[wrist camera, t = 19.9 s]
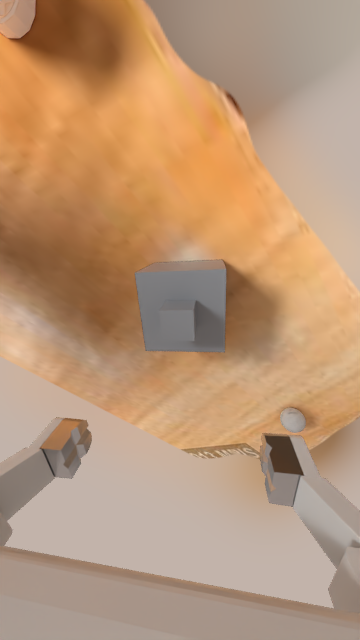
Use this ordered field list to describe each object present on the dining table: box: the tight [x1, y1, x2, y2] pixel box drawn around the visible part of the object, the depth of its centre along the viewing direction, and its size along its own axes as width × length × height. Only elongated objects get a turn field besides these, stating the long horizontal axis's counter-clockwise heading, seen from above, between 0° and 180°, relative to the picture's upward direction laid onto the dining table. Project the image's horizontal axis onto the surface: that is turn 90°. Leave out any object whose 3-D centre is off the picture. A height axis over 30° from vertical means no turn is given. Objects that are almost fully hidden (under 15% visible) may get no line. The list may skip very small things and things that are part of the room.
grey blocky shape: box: [135, 260, 226, 352], centre depth 27 cm, size 10×10×12 cm
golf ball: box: [280, 408, 306, 433], centre depth 37 cm, size 4×4×4 cm
